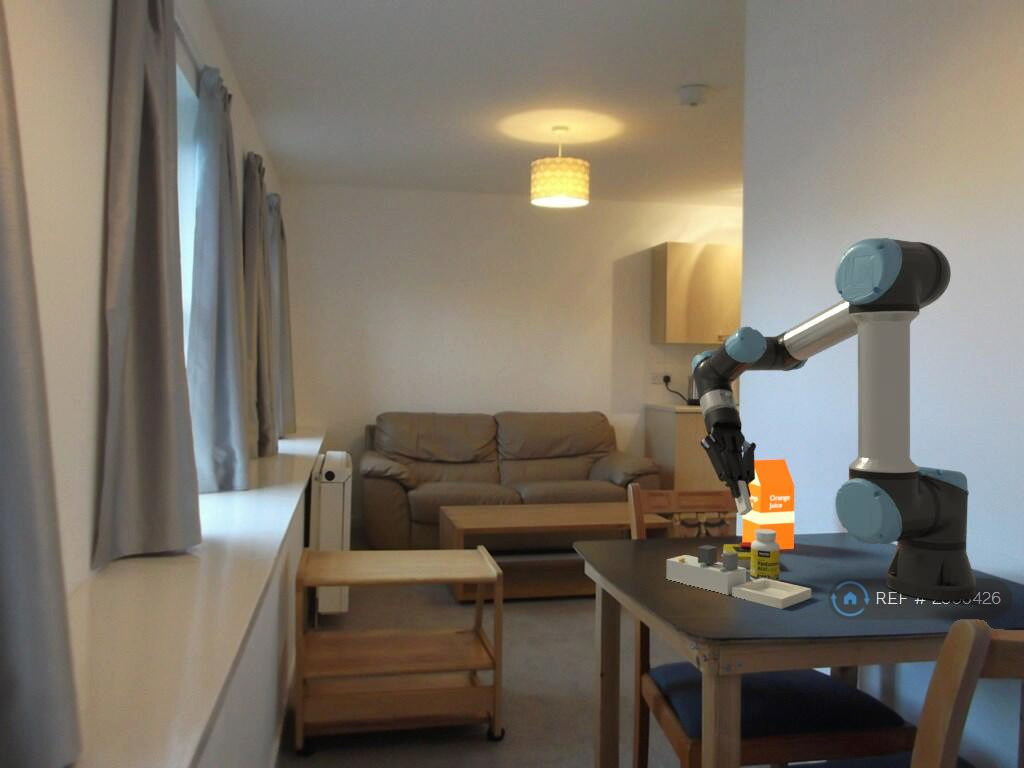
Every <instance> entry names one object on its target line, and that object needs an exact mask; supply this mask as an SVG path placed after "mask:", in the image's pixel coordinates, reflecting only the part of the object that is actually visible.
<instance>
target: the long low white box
mask: <svg viewBox="0 0 1024 768" xmlns="http://www.w3.org/2000/svg"><path fill="white" fill-rule="evenodd" d="M722 554H723V553H722ZM666 579H668V580H667V581H669V580H672V581H671V582H673V581H676V582H675V583H677V582H680V583H679V584H681V583H683V584H682V585H685V584H686V586H689V585H691V586H690V587H693V586H695V587H694V588H697V587H699V588H698V589H701V588H703V589H702V590H705V589H707V590H706V591H709V590H711V591H710V592H712V591H715V592H714V593H716V592H719V593H718V594H720V593H722V595H724V594H726V595H725V596H730V595H732V587H735V586H738V585H741V584H744V583H747V572H746V568H743V567H738V553H736V552H728V553H724V554H723V557H722V562H720V561H717V563H714V564H710V565H706V563H698V556H693V555H689V554H688V555H687V554H683V555H679V556H674V557H672V558H668V559H666ZM729 594H730V595H729Z"/></svg>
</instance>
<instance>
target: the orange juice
mask: <svg viewBox="0 0 1024 768" xmlns="http://www.w3.org/2000/svg"><path fill="white" fill-rule="evenodd" d="M754 462H755V480H753V481H752V482H751V483H750V484H748V485H749V489H750V493H751V497H750V502H751V505H752V509H753V510H751V511H750V512H749V513H747V514H746V515H742V542H753V541H755V540H756V538H755V530H758V529H768V530H773V531H776V540H775V542H776V543H778V544H779V546H780V550H794V548H795V545H794V543H795V490H796V489H795V488H796V487H795V484H794V480H793V477H792V475H791V472H790V469H789V467H788V463H787V461H786V458H785V459H784V458H780V459H779V458H778V459H754ZM742 542H741V543H742Z"/></svg>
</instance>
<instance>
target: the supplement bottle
mask: <svg viewBox="0 0 1024 768" xmlns="http://www.w3.org/2000/svg"><path fill="white" fill-rule="evenodd" d="M755 538H756V540H755V541H753V542H752V543H751V568H750V572H749V573H750V576H749V578H750V580H751V581H754V580H757V579H760V578H766V579H771V580H775V581H779V582H780V580H779V579H780V572H779V570H780V554H781V553H780V550H781V549H780V546H779V544H778V543H776V542H775V540H776V531H773V530H768V529H758V530H755Z"/></svg>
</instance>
